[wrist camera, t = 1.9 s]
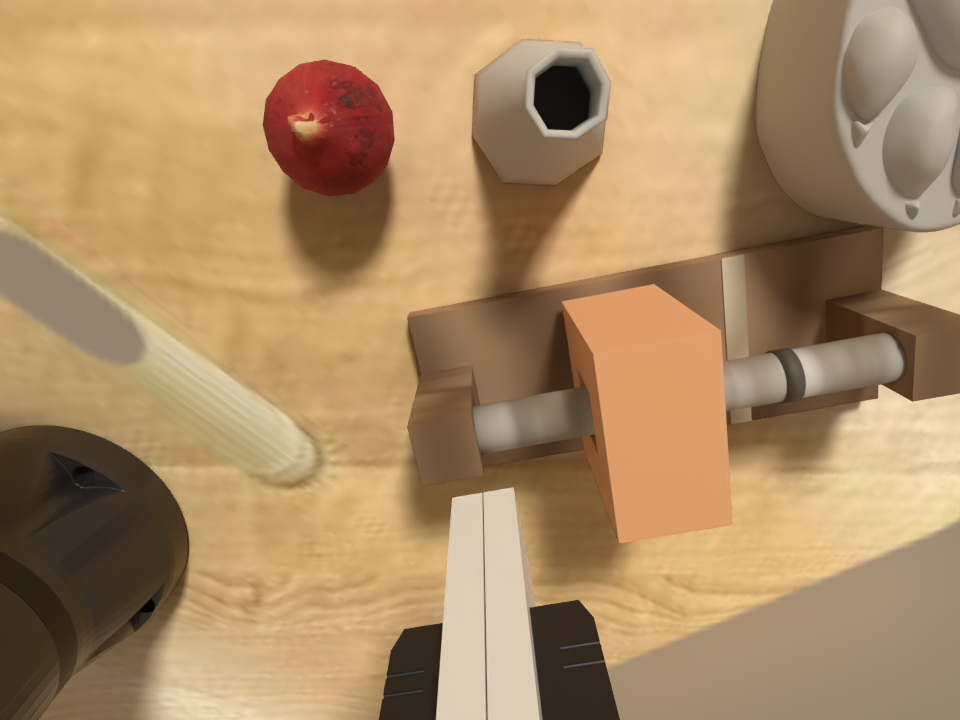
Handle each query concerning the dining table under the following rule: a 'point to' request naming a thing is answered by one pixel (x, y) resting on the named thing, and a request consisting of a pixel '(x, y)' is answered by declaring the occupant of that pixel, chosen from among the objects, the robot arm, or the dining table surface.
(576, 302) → the collar
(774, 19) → the lumpy-topped squat cylinder
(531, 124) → the flask
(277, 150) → the onion
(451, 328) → the pipe stand
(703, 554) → the dining table surface
